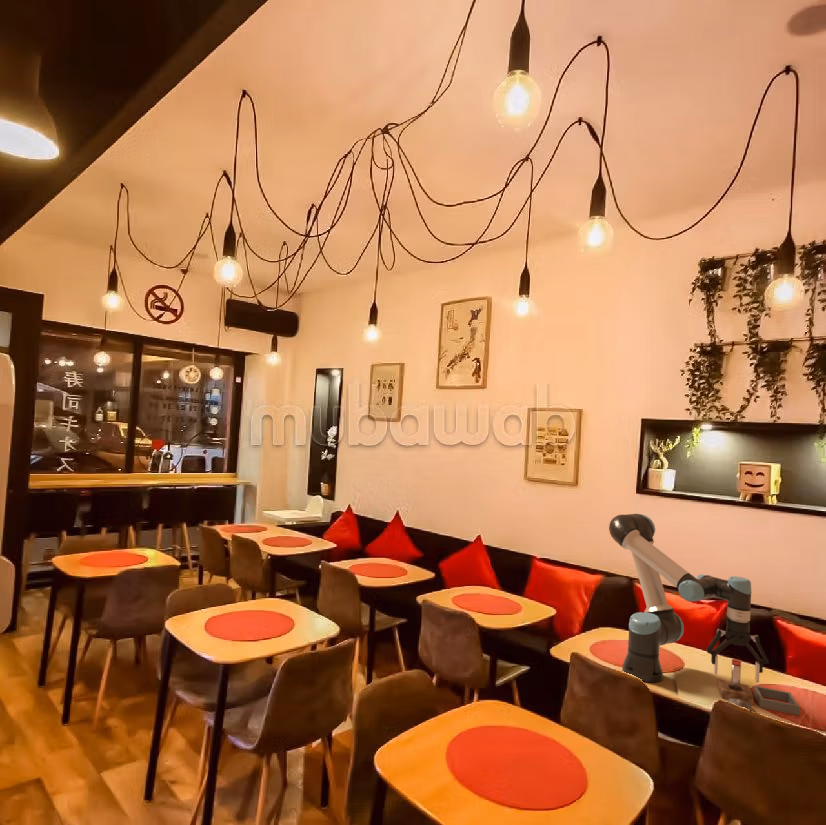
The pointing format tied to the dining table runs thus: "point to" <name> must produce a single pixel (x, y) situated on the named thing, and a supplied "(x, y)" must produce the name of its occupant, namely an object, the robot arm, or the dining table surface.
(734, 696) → the tensioner block
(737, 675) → the lock pin
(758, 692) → the tray
